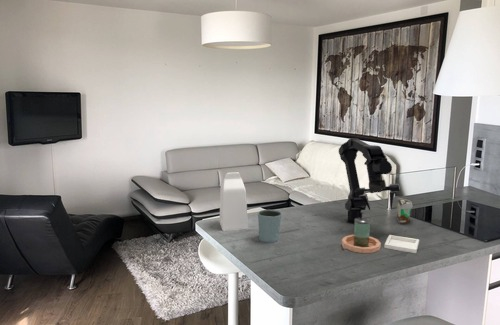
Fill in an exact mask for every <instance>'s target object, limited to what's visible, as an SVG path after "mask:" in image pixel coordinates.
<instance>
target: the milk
mask: <svg viewBox="0 0 500 325" xmlns="http://www.w3.org/2000/svg"><path fill="white" fill-rule="evenodd" d="M219 188H220V190H219V192H220V195H219V224H220V227H221V229H222V231H223V232H224V231H225V232H226V231H237V230H239V231H241V230H249V222H248V220H249V219H248V204H247V203H248V202H247V190H246V186H245V184H244V180H243V178H242V176H241V173H240V172H237V171H236V172H226V174H225V176H224V178H223V179H222V182H221V184H220V187H219Z"/></svg>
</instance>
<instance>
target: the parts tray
mask: <svg viewBox="0 0 500 325" xmlns="http://www.w3.org/2000/svg"><path fill="white" fill-rule="evenodd" d="M419 244H420V239H418V238H411V237H406V236H405V237H404V236H401V235H400V236H399V235H392V234H389V235H388V237H387V238H386V240H385V242H384V249H389V250H395V251H400V252H406V253H412V254H417V252H418V248H419Z"/></svg>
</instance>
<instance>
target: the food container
mask: <svg viewBox="0 0 500 325" xmlns="http://www.w3.org/2000/svg"><path fill="white" fill-rule="evenodd" d="M396 201H397V206H396V219H397V221H398V224H400V225H405V224H408V223H410V216H411V211H412V208H413V206H414V205H413V203H412V201H411V200H409V199H406V198H400V197H397V200H396Z"/></svg>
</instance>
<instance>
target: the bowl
mask: <svg viewBox="0 0 500 325" xmlns="http://www.w3.org/2000/svg"><path fill="white" fill-rule="evenodd" d="M381 245H382V242H380V240H379V239H378V238H375V237H373V236H370V235H369V247H358V246H354V234H349V235H346V236H344V237H343V238H342V239H341V246H342V249H343V250H345V249H346V250H349V251H351V252H354V253H359V254H372V253H373V254H374V253H376V252H379V251H380V250H381V248H382V246H381Z"/></svg>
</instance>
